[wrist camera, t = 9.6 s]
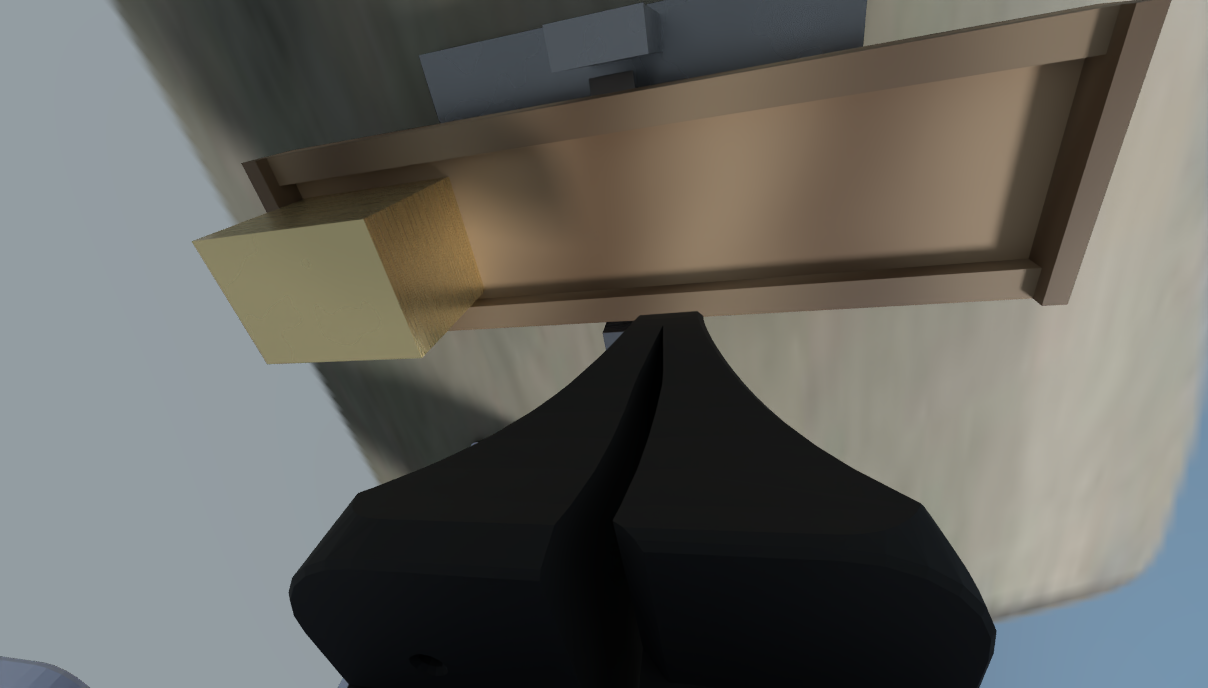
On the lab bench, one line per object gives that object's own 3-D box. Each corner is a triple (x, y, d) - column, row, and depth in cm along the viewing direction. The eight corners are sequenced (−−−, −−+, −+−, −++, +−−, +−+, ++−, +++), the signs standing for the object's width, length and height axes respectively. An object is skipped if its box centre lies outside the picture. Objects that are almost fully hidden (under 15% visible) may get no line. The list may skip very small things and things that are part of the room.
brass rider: (485, 290, 16) (422, 358, 12) (356, 300, 17) (267, 364, 14) (448, 176, 14) (363, 219, 10) (307, 197, 15) (191, 241, 12)
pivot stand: (838, 280, 19) (880, 354, 14) (505, 306, 22) (453, 373, 18) (862, -42, 14) (939, -84, 9) (429, 54, 17) (330, 58, 13)
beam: (1074, -15, 11) (1182, -33, 8) (1001, 270, 14) (1062, 319, 12) (308, 132, 16) (233, 148, 14) (388, 312, 19) (339, 352, 17)
